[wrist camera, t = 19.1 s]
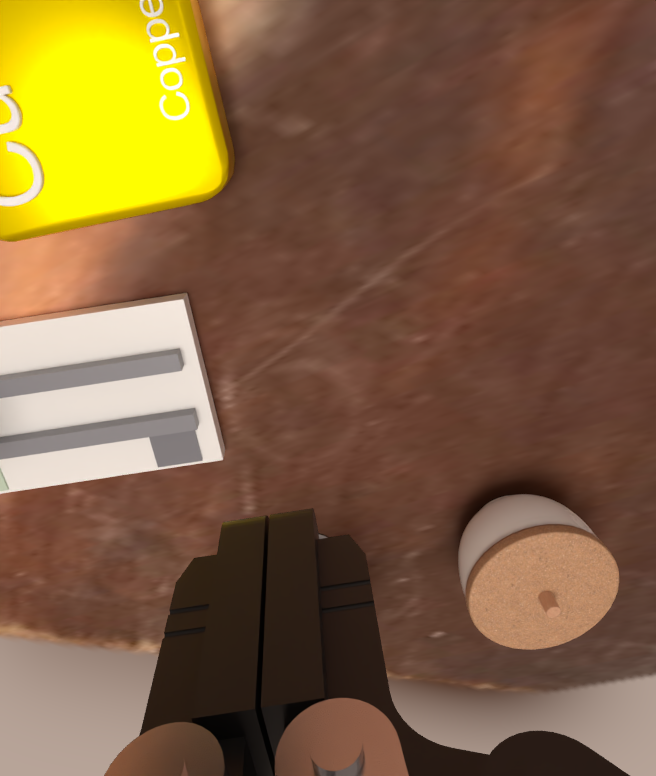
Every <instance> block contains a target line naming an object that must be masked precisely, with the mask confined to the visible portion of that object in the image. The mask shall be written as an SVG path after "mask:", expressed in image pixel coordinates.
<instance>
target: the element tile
mask: <svg viewBox="0 0 656 776" xmlns="http://www.w3.org/2000/svg"><path fill="white" fill-rule="evenodd" d="M234 165H235V156H234V148H233V144H232V139H231V135H230V131H229V127H228V123H227V119H226V115H225V111H224V106H223V102H222V98H221V94H220V90H219V86H218V82H217V77H216V73H215V69H214V65H213V61H212V57H211V53H210V49H209V44H208V40H207V36H206V32H205V28H204V24H203V20H202V16H201V11H200V7H199V3H198V0H0V240H2V241H7V242H17V241H21V240H26V239H31V238H36V237H40V236H45V235H50V234H55V233H59V232H64V231H69V230H74V229H78V228H83V227H88V226H93V225H97V224H102V223H107V222H112V221H116V220H121V219H126V218H131V217H135V216H140V215H145V214H150V213H154V212H159V211H164V210H169V209H173V208H178V207H183V206H188V205H192V204H197V203H202V202H204V201H207V200H209V199H211V198H213V197H214V196H215V195H217V194H218V193H219V192H221V191H222V190H223V189H224V187H225V186H226V185H227V184H228V182H229V180H230V179H231V177H232V175H233V172H234Z"/></svg>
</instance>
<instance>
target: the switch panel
mask: <svg viewBox="0 0 656 776" xmlns="http://www.w3.org/2000/svg"><path fill="white" fill-rule="evenodd" d="M224 452H225V447H224V443H223V439H222V435H221V431H220V426H219V422H218V418H217V414H216V410H215V406H214V402H213V398H212V394H211V389H210V385H209V381H208V377H207V373H206V369H205V365H204V361H203V356H202V352H201V348H200V344H199V340H198V336H197V332H196V328H195V324H194V319H193V315H192V311H191V307H190V303H189V299H188V295H187V293H182V294H176V295H169V296H162V297H156V298H149V299H143V300H136V301H129V302H123V303H116V304H110V305H103V306H96V307H90V308H83V309H77V310H70V311H63V312H57V313H50V314H44V315H37V316H30V317H24V318H17V319H11V320H4V321H0V494H1V493H7V492H14V491H21V490H27V489H34V488H41V487H47V486H54V485H60V484H67V483H74V482H80V481H87V480H94V479H100V478H107V477H113V476H120V475H127V474H133V473H140V472H146V471H153V470H160V469H166V468H173V467H180V466H186V465H193V464H199V463H206V462H213V461H219V460H223V458H224Z"/></svg>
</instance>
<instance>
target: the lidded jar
mask: <svg viewBox="0 0 656 776" xmlns="http://www.w3.org/2000/svg"><path fill="white" fill-rule="evenodd" d="M458 569H459V575H460V580H461V585H462V589H463V592H464V595H465V599H466V603H467V608H468V611H469V614H470V616H471V619H472V621H473V623H474V624H475V626H476V627H477V628H478V630H479V631H480V632H481V633H482V634H484V635H485V636H486V637H487V638H489V639H491V640H492V641H494V642H496V643H499V644H501V645H504V646H507V647H511V648H516V649H542V648H548V647H552V646H557V645H560V644H563V643H565V642H568V641H570V640H572V639H574V638H577V637H579V636H580V635H582V634H583V633H585V632H586V631H588V630H589V629H591V628H592V627H593V626H594V625H596V624H597V623H598V622H599V621H600V620H601V619H602V618H603V616H604V615H605V614H606V613H607V611H608V610H609V609H610V607H611V605H612V603H613V601H614V599H615V597H616V594H617V591H618V585H619V570H618V567H617V563H616V561H615V559H614V557H613V555H612V554H611V552H610V551H609V550H608V548H607V547H606V546H605V545H604V544H603V543H602V541H601V540H600V539H598V537H597V536H596V535H595V534H594V533H593V531H592V530H591V529H590V528H589V527H588V526H587V524H586V523H585V522H584V521H583V520H582V519H581V518H580V517H579V516H577V515H576V514H575V513H573V512H572V511H571V510H569V509H568V508H567V507H565V506H564V505H562V504H560V503H558V502H556V501H554V500H552V499H549V498H546V497H543V496H538V495H531V494H517V495H508V496H503V497H499V498H497V499H494V500H492V501H490V502H489V503H487V504H486V505H485V506H483V507H482V508H481V509H480V510H479V511H478V512H477V513H476V514H475V515H474V516H473V518H472V519H471V520H470V521H469V523H468V525H467V527H466V528H465V530H464V532H463V535H462V537H461V541H460V546H459V551H458Z"/></svg>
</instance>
